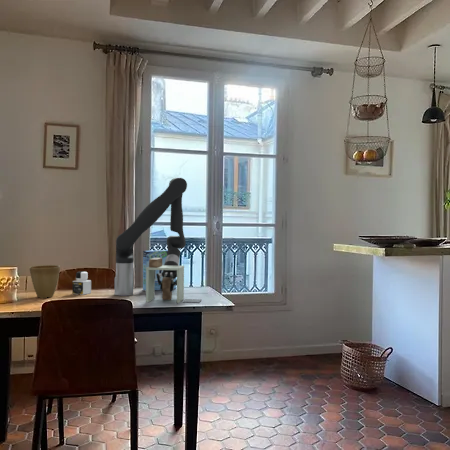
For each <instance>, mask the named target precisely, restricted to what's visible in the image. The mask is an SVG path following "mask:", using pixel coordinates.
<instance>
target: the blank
mask: <svg viewBox="0 0 450 450" xmlns="http://www.w3.org/2000/svg"><path fill="white" fill-rule="evenodd" d="M171 281H172V277H164V278H162V288H163V291H162V295H161V296H162V298H161V299H162V301H164V300H165V301H166V300H168V301H170V300H172V299H173V295H172V294H173V291H172V292H170V286H171Z"/></svg>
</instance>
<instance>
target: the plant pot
mask: <svg viewBox="0 0 450 450" xmlns="http://www.w3.org/2000/svg"><path fill="white" fill-rule="evenodd" d="M60 271H61V265H58V264H57V265H55V264H53V265H52V264H50V265H48V264H47V265H46V264H45V265H34V266H33V265H32V266H29V273H30V277H31V278H30V279H31V282H32V286H33V289H34V292H35V294H36V297H37V298H38V297H40V298H39V299H48V298H47V297H50V298H53V297H54V294H55V291H56V289H57V285H58V281H59V277H60Z"/></svg>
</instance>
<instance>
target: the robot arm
mask: <svg viewBox="0 0 450 450" xmlns="http://www.w3.org/2000/svg"><path fill="white" fill-rule="evenodd" d="M187 188H188V183H187V181H186V179H184V178H183V177H180V176H179V177H174V178H172V179H171V180H169V184H168V186H167V188H166V189H165V190H164V191H163V192H162V193H161V194H160V195H159V196H157V197H155V199H153V200H152V201H151V202H150V203H149V204H147V206H145V207H144V209H143V210H142V211H141V212H140V213H139V215H138V216H137V217H136V219H135V220H134V222H133V223H132V224H131V225H130V226H129V227H128V228H127V229H125V230H124V231H123V232H122V233H120V234H119V235H117V237H116V240H115V277H114V293H113V294H114V296H120V297H121V296H123V297H124V296H125V297H126V296H132V295H134V245H135V243H136V242H137V240H138V239H139V238H140V237H141V236H142V235H143V233H145V232H146V231H147V230H148V229H150V228H151V227H152V226H153V225H154V224H155V223H156V222H157V221H158V220H159V219H160V218H161V217H162V216H163V214H165V212H166V211H167V210H168V208H170V222H169V223H170V224H169V225H170V226H169V229H170V231H171V232H174V233H177V234H178V235H169V236H168V237H167V238H166V245H167V246H166V247H167V250H168V252H167V257H166V260H165V264H164V265H168V266H180V258H181V257H180V256H181V250H182V249H184V248H185V247H186V237H185V234H184V214H183V213H184V212H183V203H182V202H183V194H184V193H185V192H186V191H187V190H188V189H187ZM156 275H157V280H158V284H159V285H161V286H160V290H159V291H160V292H162V291H163V288H162V281H160V278H161V276H162V277H163V278H164V277H172V281H171V286H170V292H172V293H173V291H174V290H175V288H174V286H175V285H176V286H177V270H163V272H162V274H156ZM175 278H176V281H175V282H174V279H175Z"/></svg>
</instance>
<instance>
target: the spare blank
mask: <svg viewBox="0 0 450 450" xmlns="http://www.w3.org/2000/svg"><path fill="white" fill-rule="evenodd" d="M160 266H162V258H152V259H149V268H157V267H160Z"/></svg>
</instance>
